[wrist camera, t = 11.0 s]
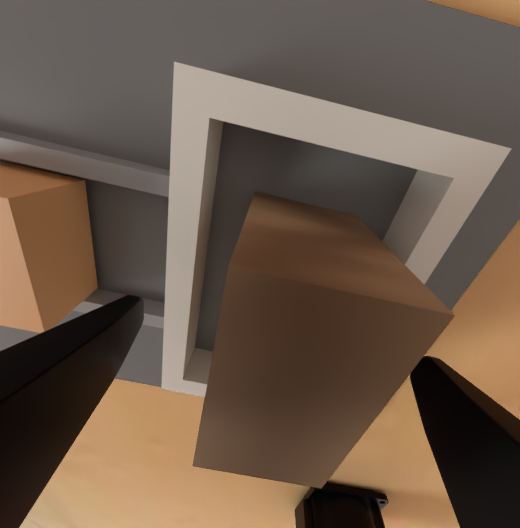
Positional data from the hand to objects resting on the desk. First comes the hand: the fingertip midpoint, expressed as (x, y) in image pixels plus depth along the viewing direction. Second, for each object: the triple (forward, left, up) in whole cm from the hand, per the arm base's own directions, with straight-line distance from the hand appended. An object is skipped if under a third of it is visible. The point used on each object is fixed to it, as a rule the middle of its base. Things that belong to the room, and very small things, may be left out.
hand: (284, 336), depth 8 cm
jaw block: (0, 0, -4) cm, 4 cm away
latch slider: (+10, 0, -4) cm, 11 cm away
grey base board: (+4, 0, -4) cm, 6 cm away
